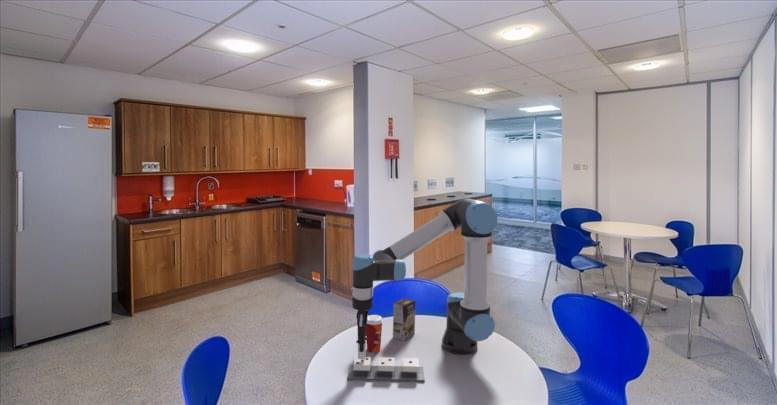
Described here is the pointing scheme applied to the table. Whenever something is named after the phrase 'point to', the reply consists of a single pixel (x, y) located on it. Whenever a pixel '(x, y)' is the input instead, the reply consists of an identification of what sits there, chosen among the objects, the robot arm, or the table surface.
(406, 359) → the tile
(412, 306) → the coffee box
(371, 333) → the paper cup
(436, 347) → the table surface
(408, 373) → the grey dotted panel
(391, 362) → the tile
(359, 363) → the tile
